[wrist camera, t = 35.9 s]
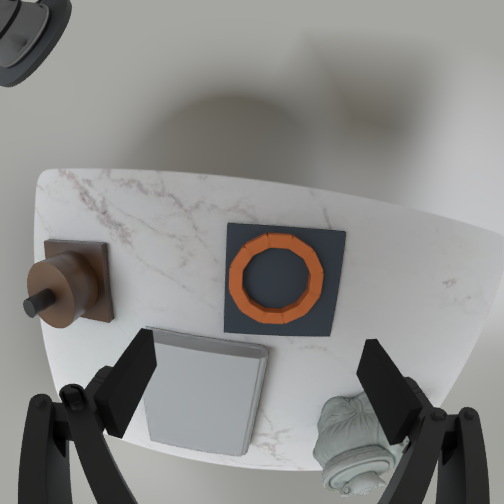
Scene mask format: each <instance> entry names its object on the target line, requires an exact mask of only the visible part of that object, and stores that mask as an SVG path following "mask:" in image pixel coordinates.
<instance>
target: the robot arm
mask: <svg viewBox="0 0 504 504" xmlns="http://www.w3.org/2000/svg"><path fill="white" fill-rule="evenodd" d="M41 1H42V0H38V1H37V2H36V3H31V2H23V1H21V0H0V66H2V67H5V68H12V67H14V66H16V65H17V64H19V63H20V62H21V61H23V60H24V59H25V58H26V57H27V56H28V55H29V54H30V52H31V51H32V50H33V49H34V48H35V46H36V45H37V44H38V42H39V41H40V39H41V38H42V36H43V35H44V33H45V31H46V29H47V27H48V25H49V22H50V19H51V9H50V8H49V7H47V6H46V5H44V4H39V3H40V2H41ZM156 367H157V360H156V352H155V345H154V337H153V330H151V329H143V328H141V329H140V331H139V332H138V333H137V335H136V336H135V338H134V339H133V340H132V342H131V343H130V344H129V346H128V347H127V349H126V350H125V351H124V353H123V354H122V356H121V357H120V358H119V360H118V361H117V363H116V364H115V365H114V367H110V366H104V367H103V368H101V369H100V370H99V371H98V372H97V373H96V375H95V377H93V379H92V380H91V381H90V383H89V384H88V385H87V387H86V388H85V389H83V387H82V386H80V385H78V384H68V385H65V386H64V387H62V388H61V390H60V391H59V396H60V398H61V400H62V403H56V402H52V400H51V398H50V397H49V396H48V395H46V394H37V395H35V396H33V397H32V398H31V400H30V402H29V407H28V412H27V417H26V422H25V428H24V433H23V440H22V448H21V456H20V466H19V481H18V504H73V503H72V494H71V483H70V464H69V441H74V444H75V447H76V450H77V453H78V456H79V459H80V462H81V464H82V467H83V470H84V473H85V475H86V478H87V480H88V483H89V485H90V488H91V490H92V492H93V494H94V497H95V499H96V501H97V503H98V504H138V503H137V501H136V499H135V498H134V496H133V494H132V493H131V491H130V489H129V488H128V486H127V484H126V482H125V480H124V478H123V476H122V474H121V472H120V471H119V469H118V466H117V464H116V463H115V460H114V458H113V456H112V454H111V452H110V450H109V447H108V445H107V443H106V441H105V438H104V436H103V434H102V433H103V431H104V429H105V428H106V431H107V433H108V435H111V436H114V437H117V438H121V439H122V437H123V435H124V433H125V431H126V429H127V427H128V425H129V423H130V420H131V418H132V416H133V414H134V412H135V410H136V408H137V406H138V404H139V402H140V400H141V398H142V395H143V393H144V391H145V389H146V387H147V385H148V383H149V381H150V379H151V377H152V375H153V373H154V371H155V369H156ZM356 374H357V376H358V378H359V381H360V383H361V385H362V387H363V389H364V391H365V393H366V395H367V397H368V399H369V401H370V403H371V406H372V408H373V410H374V412H375V414H376V416H377V418H378V421H379V423H380V425H381V427H382V429H383V432H384V434H385V436H386V438H387V440H388V443H389V445H390V446H392V445H396V444H400V443H403V441H404V440H405V438H406V436H407V437H408V439H409V442H408V444H407V445H406V447H405V448H404V450H403V451H402V453H403V455H402V457H401V459H400V461H399V464H398V466H397V468H396V470H395V472H394V474H393V476H392V478H391V480H390V482H389V484H388V486H387V488H386V490H385V491H384V493H383V495H382V497H381V499H380V500H379V502H378V504H422V502H423V500H424V497H425V495H426V492H427V489H428V487H429V484H430V481H431V478H432V476H433V472H434V470H435V466H436V463H437V460H438V480H437V481H438V482H437V494H436V504H490V499H489V479H488V468H487V459H486V452H485V445H484V439H483V434H482V429H481V424H480V419H479V415H478V412H477V411H476V410H475V409H473V408H470V407H464V408H462V409H461V410H460V412H459V414H456V415H447V413H446V412H445V411H444V410H443V409H441V408H436V407H433V406H432V404H431V403H430V401H429V400H428V398H427V397H426V396H425V394H424V393H423V391H422V390H421V389H420V388H419V386H418V384H417V383H416V381H414V380H413V379H411V378H410V377H403V376H402V374H401V373H400V371H399V370H398V368H397V367H396V365H395V364H394V363H393V361H392V360H391V358H390V357H389V355H388V354H387V353H386V351H385V350H384V348H383V347H382V346H381V344H380V343H379V342H378V340H377V339H366V341H365V345H364V349H363V352H362V356H361V359H360V363H359V366H358V369H357V373H356Z"/></svg>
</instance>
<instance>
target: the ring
mask: <svg viewBox="0 0 504 504" xmlns="http://www.w3.org/2000/svg"><path fill="white" fill-rule="evenodd" d="M268 248H284V249H290V250H291V251H293V252H294V253H296V254H297V255H299V256H300V257H302V258H303V259H304V262H305V264H306V266H307V268H308V270H309V276H308V284H307V288H306V290H305V291H304V293H303V294H302V295H301V296H300V298H299V299H298V300H297V301H296V302H294V303H292V304H290V305H288V306H286V307H283V308H264V307H263V306H261V305H260V304H258V303H256V302H255V301H253V300H251V299H250V298H249V296H248V294H247V292H246V290H245V288H244V286H243V285H242V282H243V270H244V268H245V267H246V265H247V264H248V262H249V261H250V259H251V258H252V257H253V256H254V255H256V254H258V253H260V252H262V251H264V250H266V249H268ZM323 275H324V273H323V269H322V267H321V264H320V262H319V260H318V257H317V255H316V253H315V251H314V250H313V249H312V248H311V247H310V246H309V245H308V244H306V243H305V242H303V241H302V240H300V239H299V238H297V237H296V236H294V235H291V234H286V233H271V232H268V235H267V233H264V234H262V235H260V236H258V237H256V238H254V239H252V240H250V241H248V242H246V243H245V244H243V246H242V247H241V249H240V250H239V252H238V253H237V255H236V256H235V258H234V259H233V261H232V262H231V265H230V271H229V290H230V291H229V292H230V294H231V295H232V297H233V299H234V301H235V303H236V304H237V306H238V308H239V310H241V312H243V313H244V314H246V315H248V316H249V317H251V318H253V319H254V320H256V321H258V322H261V323H271V324H284V323H285V324H286V323H288V322H290V321H293V320H295V319H297V318H299V317H301V316H304V315H305V313H308V311H309V310H310V309H311V307H312V306H313V305H314V304H315V302H316V301H317V300H318V298H319V297H320V295H321V289H322V282H323Z"/></svg>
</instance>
